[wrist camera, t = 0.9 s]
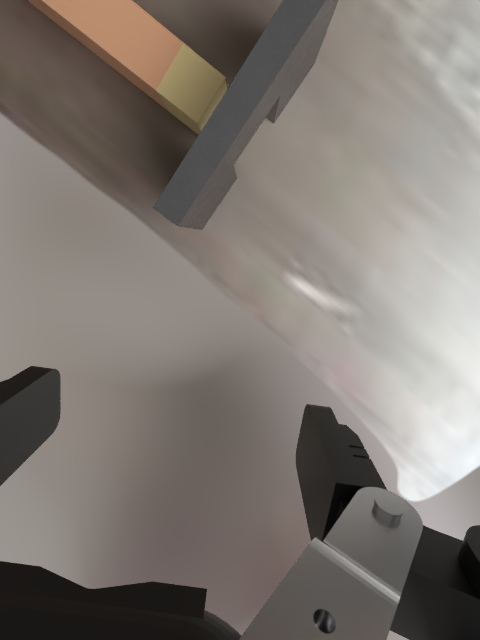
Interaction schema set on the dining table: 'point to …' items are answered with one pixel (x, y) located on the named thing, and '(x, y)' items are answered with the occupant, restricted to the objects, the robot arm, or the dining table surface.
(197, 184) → the plate
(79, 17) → the plug
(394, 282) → the dining table surface
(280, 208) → the dining table surface
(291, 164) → the dining table surface
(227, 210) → the dining table surface
